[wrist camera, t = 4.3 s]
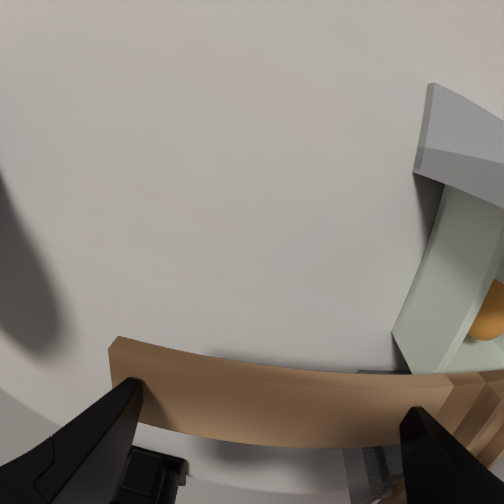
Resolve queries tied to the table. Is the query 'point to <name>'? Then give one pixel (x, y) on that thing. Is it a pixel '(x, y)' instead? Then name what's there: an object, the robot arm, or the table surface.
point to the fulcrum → (372, 464)
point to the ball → (490, 314)
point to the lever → (307, 403)
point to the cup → (454, 289)
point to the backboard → (461, 145)
